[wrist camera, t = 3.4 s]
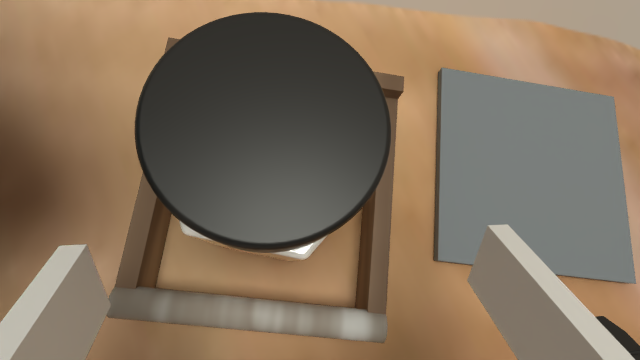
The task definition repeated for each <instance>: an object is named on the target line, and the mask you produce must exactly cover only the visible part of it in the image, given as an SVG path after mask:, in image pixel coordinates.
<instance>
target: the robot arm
mask: <svg viewBox="0 0 640 360" xmlns="http://www.w3.org/2000/svg"><path fill="white" fill-rule="evenodd" d="M467 281H468V283H469V284H470V286H471V287H472V289H473V290H474V292H475V294H476V295H477V297H478V298H479V300H480V301H481V303H482V304H483V306H484V308H485V309H486V311H487V312H488V314H489V315H490V317H491V318H492V320H493V322H494V323H495V325H496V326H497V328H498V329H499V331H500V332H501V334H502V336H503V337H504V339H505V340H506V342H507V343H508V345H509V347H510V348H511V350H512V351H513V353H514V354H515V356H516V357H517V359H518V360H640V346H639V345H638V344H637V343H636V342H635V341H634V340H633V339H632V338H631V337H630V336H629V335H628V334H627V333H626V332H625V331H624V330H622V329H621V328H619V327H618V326H617V325H615V324H614V323H612V322H611V321H609V320H608V319H607V318H605V317H604V316H598V317H595V316H594V315H593V314H592V313H591V312H590V311H589V310H588V309H587V308H586V307H585V306H584V305H583V304H582V303H581V302H580V300H579V299H578V298H577V297H576V296H575V295H574V294H573V293H572V292H571V291H570V290H569V289H568V288H567V287H566V286H565V285H564V284H563V282H562V281H561V280H560V279H559V278H558V277H557V276H556V275H555V274H554V273H553V272H552V271H551V270H550V269H549V268H548V267H547V266H546V264H545V263H544V262H543V261H542V260H541V259H540V258H539V257H538V256H537V255H536V254H535V253H534V252H533V251H532V250H531V249H530V248H529V246H528V245H527V244H526V243H525V242H524V241H523V240H522V239H521V238H520V237H519V236H518V235H517V234H516V233H515V232H514V231H513V230H512V228H511V227H510V226H509V225H508V224H505V225H488V226H487V229H486V231H485V234H484V237H483V239H482V242H481V245H480V247H479V250H478V253H477V256H476V258H475V261H474V264H473V266H472V269H471V272H470V274H469V277H468V280H467ZM110 306H111V304H110V302H109V299H108V297H107V294H106V292H105V289H104V287H103V284H102V282H101V279H100V276H99V274H98V271H97V269H96V266H95V264H94V261H93V259H92V256H91V254H90V251H89V249H88V246H87V244H84V245H63V246H59V247H58V248H57V249H56V251H55V252H54V253H53V255H52V256H51V257H50V259H49V260H48V261H47V262H46V264H45V265H44V266H43V268H42V269H41V270H40V272H39V273H38V274H37V276H36V277H35V278H34V279H33V281H32V282H31V283H30V285H29V286H28V287H27V289H26V290H25V291H24V293H23V294H22V295H21V296H20V298H19V299H18V300H17V302H16V303H15V304H14V306H13V307H12V308H11V310H10V311H9V312H8V313H7V315H6V316H5V317H4V319H3V320H2V321H1V323H0V360H85V359H86V357H87V355H88V353H89V351H90V349H91V346H92V344H93V342H94V340H95V338H96V336H97V334H98V332H99V330H100V327H101V325H102V323H103V321H104V319H105V317H106V315H107V313H108V311H109V308H110Z"/></svg>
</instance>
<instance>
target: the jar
mask: <svg viewBox="0 0 640 360" xmlns="http://www.w3.org/2000/svg"><path fill="white" fill-rule="evenodd" d="M135 142H136V149H137V154H138V158H139V161H140V164H141V167H142V170H143V173H144V175H145V177H146V179H147V181H148V183H149V185H150V187H151V189H152V190H153V192H154V193H155V195H156V196H157V197H158V199H159V200H160V201H161V203H162V204H163V205H164V206H165V207H166V208H167V209H168V210H169V211H170V212H171V213H172V214H173V215H174V216H175V217H176V218H177V219H178V220H179V222H180V226H181V230H182V232H183V233H184V234H185V235H188V236H191V237H194V238H197V239H200V240H203V241H206V242H209V243H212V244H215V245H218V246H220V247H223V248H228V249H233V250H237V251H242V252H247V253H252V254H256V255H261V256H266V257H270V258H275V259H280V260H285V261H289V262H295V261H299V260H304V259H307V258H308V257H309V256H310V255H311V254H312V253H313V251H314V250H315V249H316V248H317V247H318V246H319V245H320V243H321V242H322V241H323V240H324V239H325V238H326V237H327V235H328V234H330V233H332V232H334V231H335V230H337V229H338V228H340V227H341V226H343V225H344V224H345V223H347V222H348V221H349V220H350V219H351V218H353V217H354V216H355V215H356V214H357V213H358V212H359V211H360V210H361V209H362V207H363V206H364V205H365V204H366V203H367V201H368V200H369V199H370V197H371V196H372V194H373V193H374V191H375V190H376V188H377V186H378V184H379V182H380V180H381V178H382V176H383V173H384V170H385V168H386V165H387V161H388V157H389V152H390V145H391V120H390V114H389V109H388V105H387V101H386V98H385V95H384V92H383V90H382V87H381V85H380V83H379V81H378V79H377V78H376V76H375V74H374V73H373V71H372V69H371V68H370V67H369V65H368V64H367V63H366V61H365V60H364V59H363V58H362V57H361V56H360V54H359V53H358V52H357V51H356V50H355V49H354V48H352V47H351V46H350V45H349V44H348V43H347V42H345V41H344V40H343V39H342V38H340V37H339V36H337V35H336V34H334V33H333V32H331V31H329V30H328V29H326V28H324V27H322V26H320V25H318V24H315V23H313V22H311V21H308V20H305V19H302V18H299V17H295V16H290V15H285V14H279V13H267V12H254V13H243V14H237V15H232V16H228V17H224V18H220V19H218V20H215V21H212V22H209V23H207V24H205V25H203V26H201V27H199V28H197V29H195V30H194V31H192V32H190V33H189V34H187V35H186V36H184V37H183V38H182V39H180V40H179V41H178V42H177V43H175V44H174V45H173V46H172V47H171V48H170V49H169V50H168V51H167V52H166V53H165V54H164V55H163V56H162V57H161V59H160V60H159V61H158V63H157V64H156V65H155V66H154V68H153V70H152V71H151V73H150V75H149V76H148V78H147V80H146V82H145V84H144V86H143V89H142V92H141V95H140V97H139V101H138V105H137V110H136V117H135Z"/></svg>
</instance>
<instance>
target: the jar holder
mask: <svg viewBox="0 0 640 360" xmlns="http://www.w3.org/2000/svg"><path fill="white" fill-rule="evenodd" d="M179 40H180V39H174V38H168V41H167V45H166V49H165V53H166V52H167V51H168V50H169V49H170V48H171V47H172V46H173V45H174V44H175V43H177V42H178V41H179ZM373 73H374V74H375V76H376V78H377V79H378V81H379V83H380V85H381V87H382V90H383V92H384V95H385V98H386V101H387V105H388V109H389V114H390V120H391V145H390V152H389V157H388V161H387V165H386V168H385V170H384V173H383V176H382V178H381V180H380V182H379V184H378V186H377V188H376V190H375V191H374V193H373V194H372V196H371V197H370V199H369V200H368V201H367V203H366V204H365V205H364V206H363V213H362V226H361V239H360V252H359V265H358V278H357V291H356V304H355V308H347V307H337V306H328V305H318V304H308V303H298V302H288V301H278V300H268V299H259V298H249V297H239V296H229V295H219V294H209V293H199V292H190V291H180V290H170V289H160V288H155V286H156V281H157V277H158V272H159V268H160V263H161V258H162V254H163V249H164V245H165V240H166V236H167V231H168V226H169V222H170V217H171V212H170V211H169V210H168V209H167V208H166V207H165V206H164V205H163V204H162V203H161V201H160V200H159V199H158V197H157V196H156V195H155V193H154V192H153V190H152V189H151V187H150V185H149V183H148V181H147V179H146V177H145V175H144V173H143V174H142V178H141V182H140V186H139V190H138V194H137V199H136V203H135V207H134V211H133V215H132V219H131V223H130V227H129V231H128V235H127V239H126V243H125V247H124V251H123V255H122V260H121V264H120V268H119V272H118V276H117V280H116V284H115V287H114V289H113V290H112V292H111V294H110V296H109V302H110V304H111V306H110V308H109V311H108V313H107V316H108V317H109V318H119V319H129V320H140V321H151V322H162V323H172V324H183V325H194V326H205V327H216V328H226V329H237V330H248V331H259V332H269V333H280V334H291V335H302V336H313V337H323V338H334V339H345V340H356V341H366V342H377V343H384V342H385V340H386V336H387V317H386V302H387V284H388V266H389V248H390V230H391V211H392V193H393V175H394V157H395V139H396V121H397V103H398V98H399V97H400V95H401V94H402V93H403V88H404V77H403V76H397V75H391V74H385V73H379V72H373Z"/></svg>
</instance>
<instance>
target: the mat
mask: <svg viewBox="0 0 640 360" xmlns="http://www.w3.org/2000/svg"><path fill="white" fill-rule="evenodd" d="M505 224H508V225H509V226H510V227H511V228H512V230H513V231H514V232H515V233H516V234H517V235H518V236H519V237H520V238H521V239H522V240H523V241H524V242H525V243H526V244H527V245H528V246H529V248H530V249H531V250H532V251H533V252H534V253H535V254H536V255H537V256H538V257H539V258H540V259H541V260H542V261H543V262H544V263H545V264H546V266H547V267H548V268H549V269H550V270H551V271H552V272H553V273H554V274H555V275H562V276H570V277H579V278H587V279H596V280H604V281H613V282H622V283H634V284H636V280H635V271H634V263H633V254H632V246H631V237H630V229H629V221H628V212H627V204H626V195H625V187H624V179H623V170H622V162H621V153H620V145H619V136H618V128H617V120H616V111H615V103H614V97H611V96H606V95H600V94H594V93H588V92H582V91H576V90H570V89H564V88H559V87H553V86H547V85H541V84H535V83H529V82H523V81H517V80H512V79H506V78H500V77H494V76H488V75H482V74H476V73H470V72H465V71H459V70H453V69H447V68H441V69H440V71H439V72H438V108H437V151H436V194H435V237H434V261H442V262H450V263H459V264H468V265H473V264H474V261H475V258H476V256H477V253H478V250H479V247H480V245H481V242H482V239H483V237H484V234H485V231H486V229H487V226H488V225H505Z"/></svg>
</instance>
